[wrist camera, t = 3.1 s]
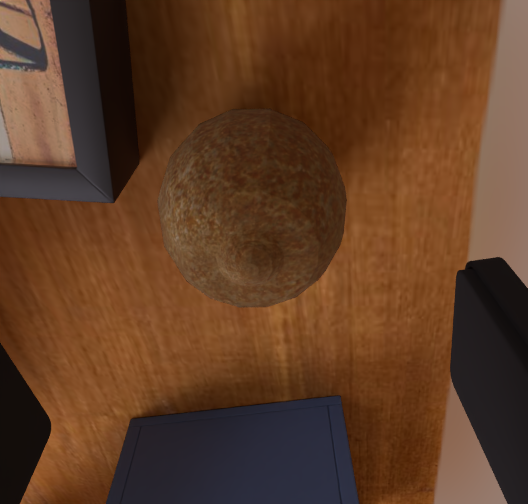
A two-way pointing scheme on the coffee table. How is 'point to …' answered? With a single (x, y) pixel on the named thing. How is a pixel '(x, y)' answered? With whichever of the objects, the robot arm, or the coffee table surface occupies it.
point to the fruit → (252, 207)
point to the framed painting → (66, 100)
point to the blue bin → (239, 456)
